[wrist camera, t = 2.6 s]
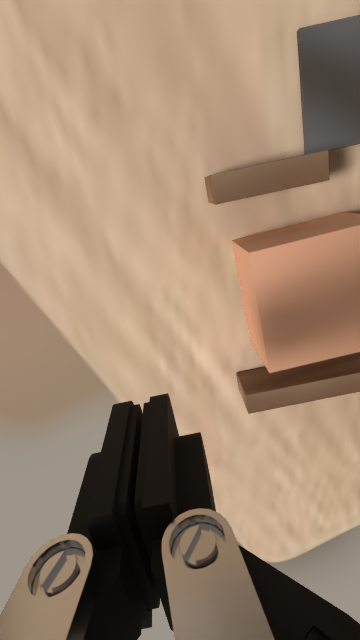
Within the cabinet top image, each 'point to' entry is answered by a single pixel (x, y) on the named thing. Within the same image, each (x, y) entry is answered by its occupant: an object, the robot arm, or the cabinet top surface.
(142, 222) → the cabinet top surface
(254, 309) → the salmon block
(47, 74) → the cabinet top surface
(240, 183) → the trap lane
